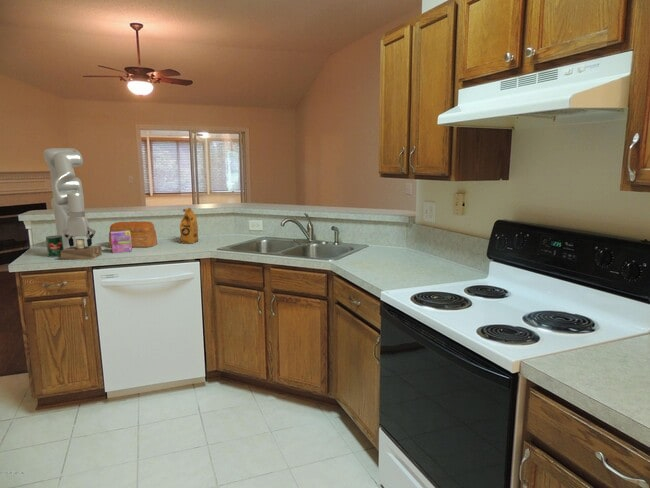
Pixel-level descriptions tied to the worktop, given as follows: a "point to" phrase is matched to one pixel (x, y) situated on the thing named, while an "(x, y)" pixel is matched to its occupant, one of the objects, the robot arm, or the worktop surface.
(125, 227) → the bread
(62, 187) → the robot arm
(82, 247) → the peg
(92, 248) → the board
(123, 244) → the box
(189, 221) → the coffee package
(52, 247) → the canned tomato
